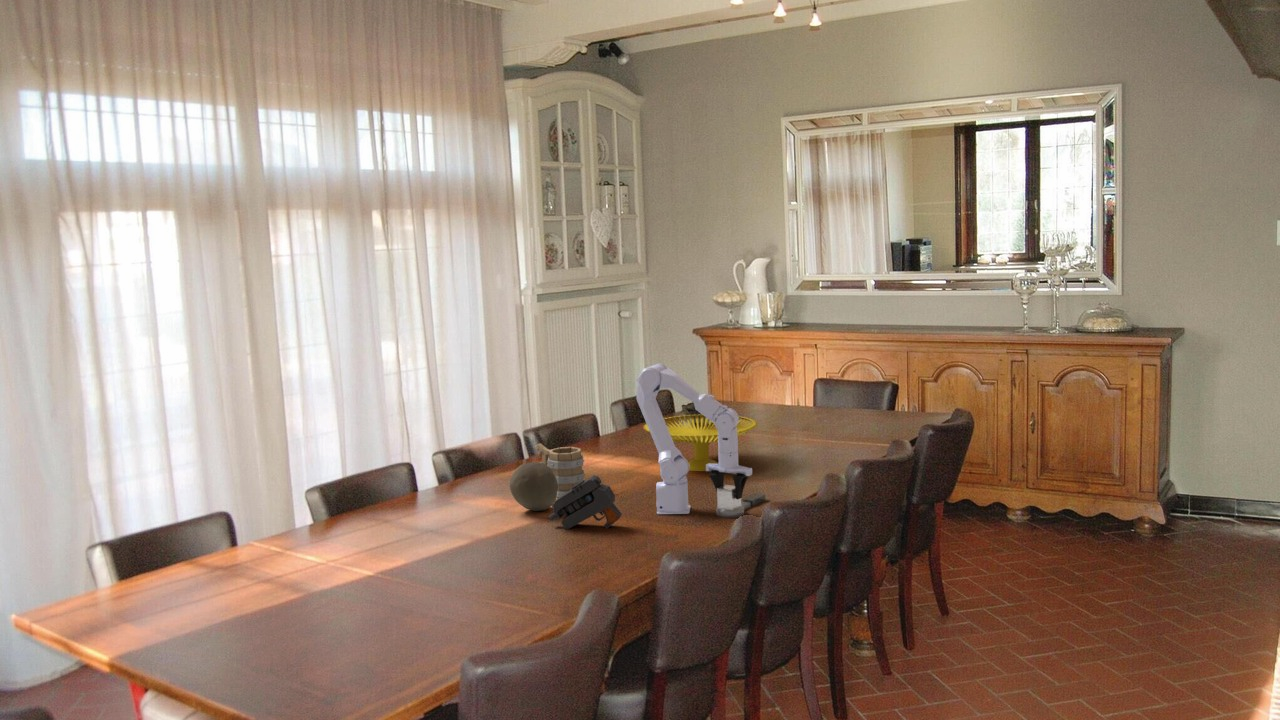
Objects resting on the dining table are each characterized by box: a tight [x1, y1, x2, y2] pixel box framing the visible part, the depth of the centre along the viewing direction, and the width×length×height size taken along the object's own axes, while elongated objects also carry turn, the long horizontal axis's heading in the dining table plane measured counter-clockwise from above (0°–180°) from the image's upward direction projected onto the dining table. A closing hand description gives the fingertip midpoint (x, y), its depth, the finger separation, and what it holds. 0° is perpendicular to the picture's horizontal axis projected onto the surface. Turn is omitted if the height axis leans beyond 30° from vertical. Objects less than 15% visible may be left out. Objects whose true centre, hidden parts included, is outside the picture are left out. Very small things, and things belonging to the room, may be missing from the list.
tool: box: [548, 474, 623, 530], centre depth 294 cm, size 6×19×15 cm, turn 78°
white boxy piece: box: [716, 484, 742, 511], centre depth 300 cm, size 5×5×6 cm
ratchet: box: [715, 492, 766, 519], centre depth 306 cm, size 22×8×5 cm, turn 144°
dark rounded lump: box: [678, 402, 714, 428], centre depth 425 cm, size 28×13×15 cm
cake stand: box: [643, 414, 758, 472], centre depth 361 cm, size 40×40×15 cm
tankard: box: [534, 442, 586, 499], centre depth 336 cm, size 20×13×15 cm, turn 47°
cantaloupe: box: [509, 461, 558, 512], centre depth 312 cm, size 14×14×15 cm
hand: (729, 497), depth 300 cm, fingers open, 6 cm apart
